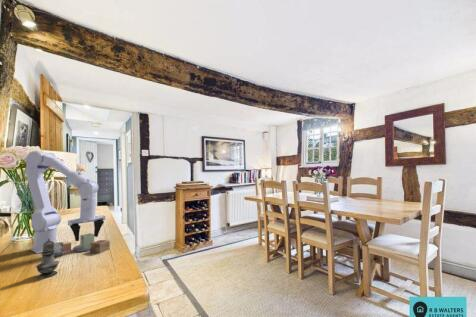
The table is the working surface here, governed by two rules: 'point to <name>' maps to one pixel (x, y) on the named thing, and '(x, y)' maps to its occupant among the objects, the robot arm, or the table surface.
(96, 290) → the table surface
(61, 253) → the grey tin
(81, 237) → the sage block
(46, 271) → the dark grey tall piece
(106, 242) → the walnut block
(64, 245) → the terracotta block
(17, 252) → the table surface
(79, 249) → the coaster
